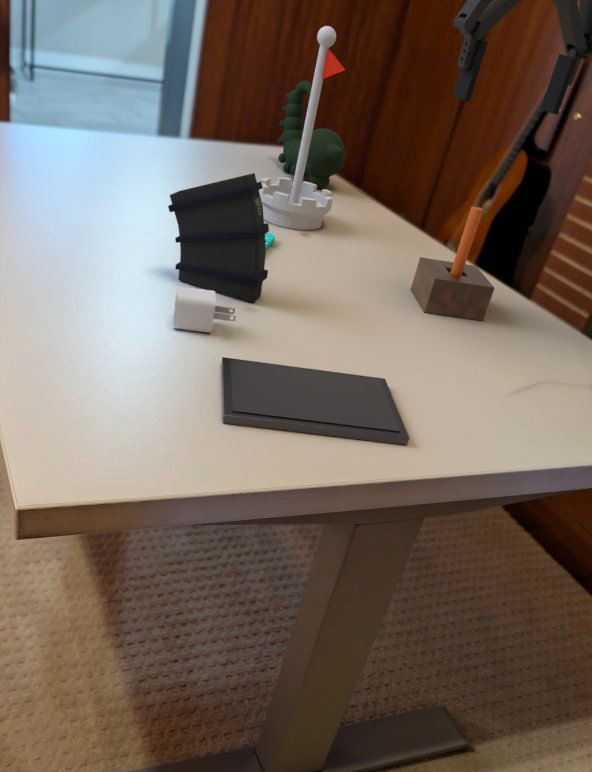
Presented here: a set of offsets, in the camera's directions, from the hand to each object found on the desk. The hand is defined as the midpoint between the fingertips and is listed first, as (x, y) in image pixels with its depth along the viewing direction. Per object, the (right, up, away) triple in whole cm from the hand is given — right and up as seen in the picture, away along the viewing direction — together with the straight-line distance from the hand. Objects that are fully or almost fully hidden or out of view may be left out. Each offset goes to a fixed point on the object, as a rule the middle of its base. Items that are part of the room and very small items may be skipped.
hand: (506, 105), depth 95 cm
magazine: (-37, -22, +4) cm, 44 cm away
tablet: (-26, -38, -18) cm, 50 cm away
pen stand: (-4, -23, +14) cm, 27 cm away
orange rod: (-4, -23, +14) cm, 27 cm away
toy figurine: (-21, +13, +64) cm, 69 cm away
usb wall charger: (-38, -29, -7) cm, 48 cm away
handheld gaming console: (-34, -13, +20) cm, 41 cm away
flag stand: (-26, -4, +37) cm, 45 cm away
